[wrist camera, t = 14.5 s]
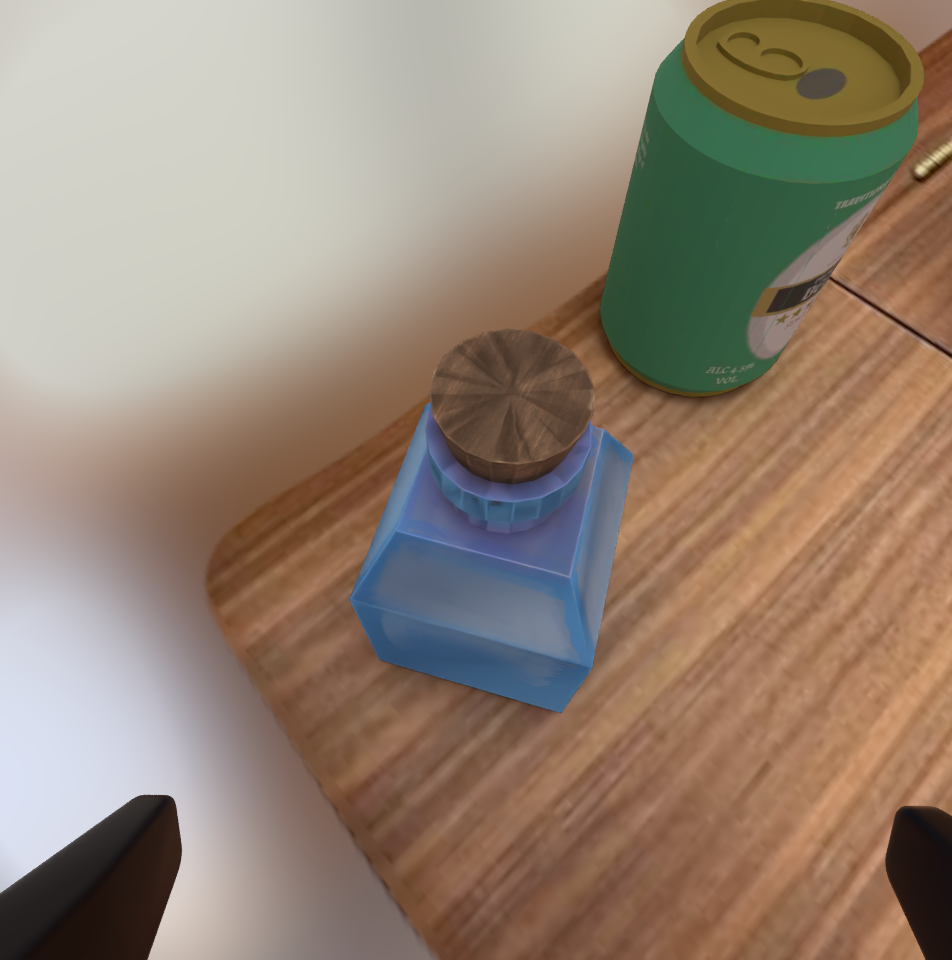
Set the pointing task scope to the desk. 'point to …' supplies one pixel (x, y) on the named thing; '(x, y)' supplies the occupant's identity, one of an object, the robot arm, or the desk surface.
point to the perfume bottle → (499, 525)
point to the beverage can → (752, 185)
